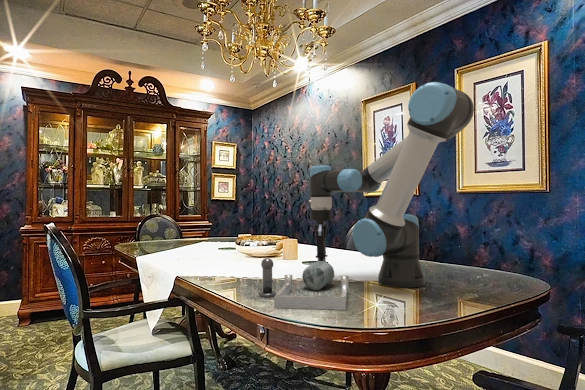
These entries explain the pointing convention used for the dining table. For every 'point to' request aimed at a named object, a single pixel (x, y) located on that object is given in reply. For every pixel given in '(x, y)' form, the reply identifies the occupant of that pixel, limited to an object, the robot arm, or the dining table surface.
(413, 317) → the dining table surface
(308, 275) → the grey rounded piece
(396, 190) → the robot arm
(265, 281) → the post
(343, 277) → the keeper cradle
